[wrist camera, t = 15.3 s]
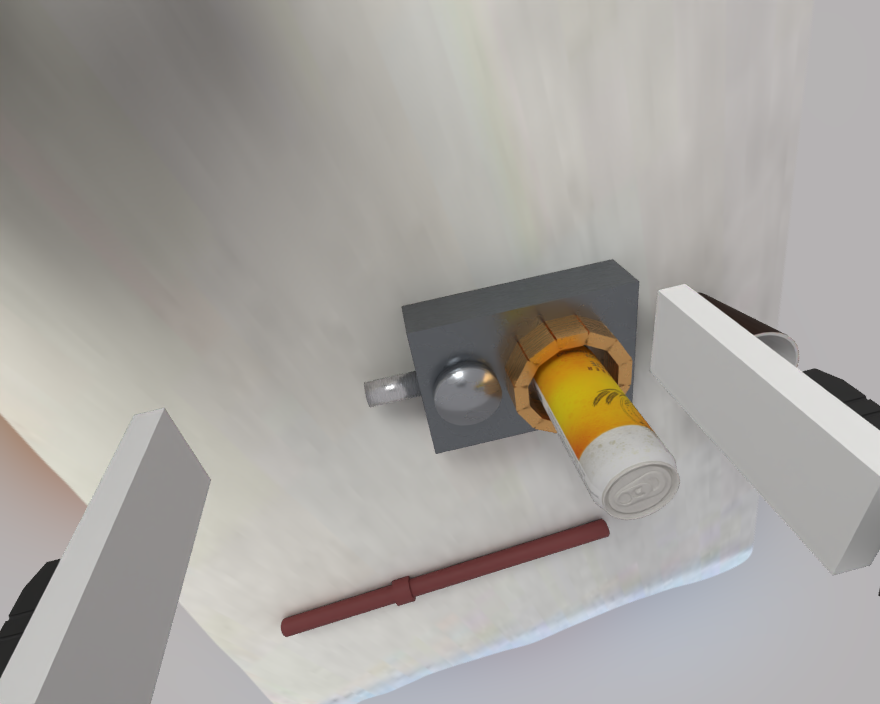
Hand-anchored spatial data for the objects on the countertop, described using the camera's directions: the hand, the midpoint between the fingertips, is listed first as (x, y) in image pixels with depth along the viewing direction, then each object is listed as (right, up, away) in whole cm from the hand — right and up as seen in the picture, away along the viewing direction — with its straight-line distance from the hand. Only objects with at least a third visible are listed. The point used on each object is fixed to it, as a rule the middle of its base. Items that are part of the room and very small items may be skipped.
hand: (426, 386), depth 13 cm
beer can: (+11, 0, +32) cm, 34 cm away
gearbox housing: (+5, +1, +36) cm, 36 cm away
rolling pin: (+1, -28, +54) cm, 61 cm away
